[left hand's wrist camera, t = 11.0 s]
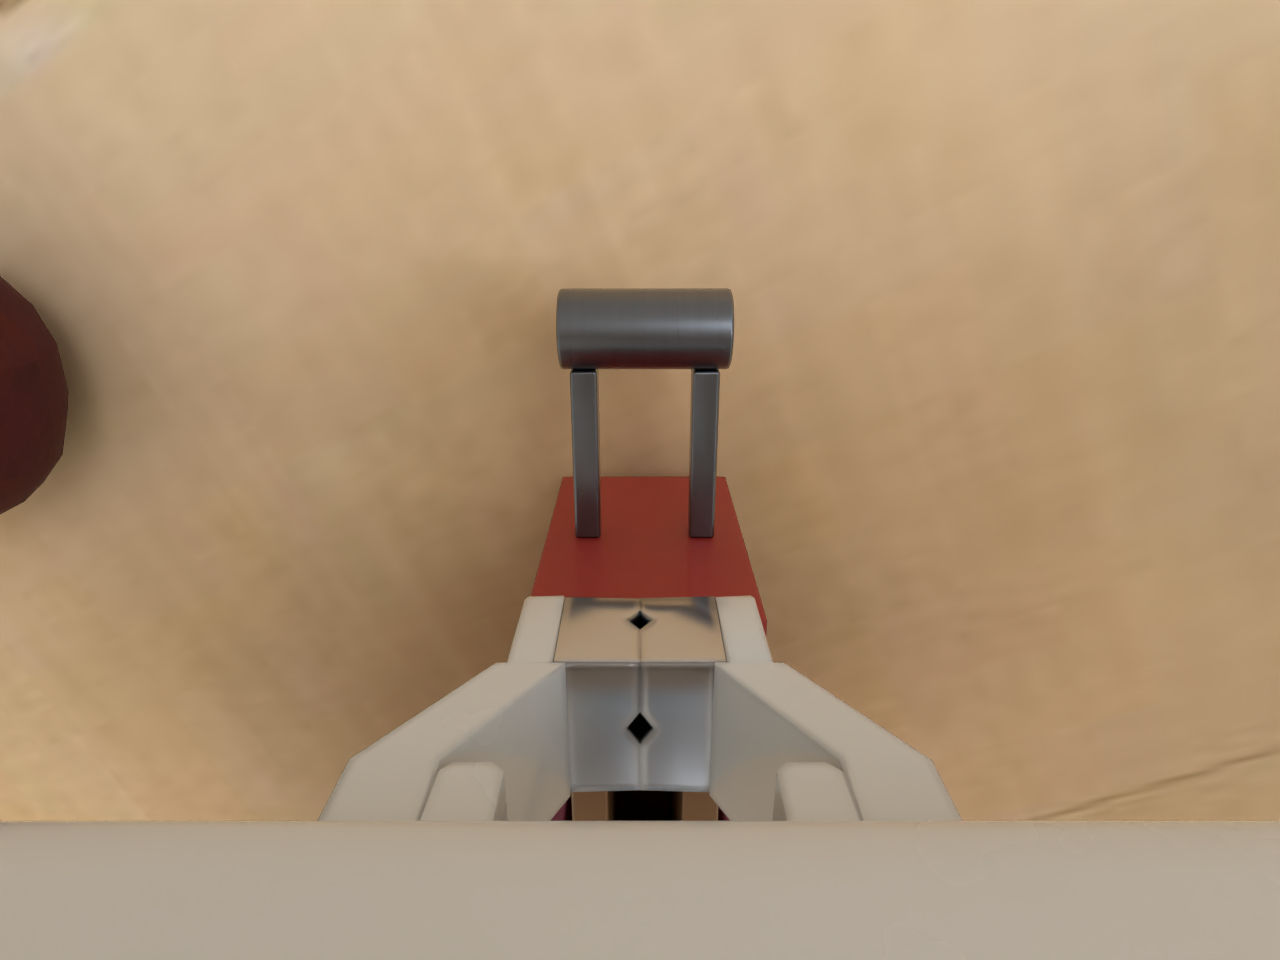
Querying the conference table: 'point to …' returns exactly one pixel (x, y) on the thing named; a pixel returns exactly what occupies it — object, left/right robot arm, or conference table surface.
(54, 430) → the dark brown ball
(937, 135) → the conference table surface
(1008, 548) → the conference table surface
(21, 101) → the conference table surface
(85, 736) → the conference table surface
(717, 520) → the drawer
